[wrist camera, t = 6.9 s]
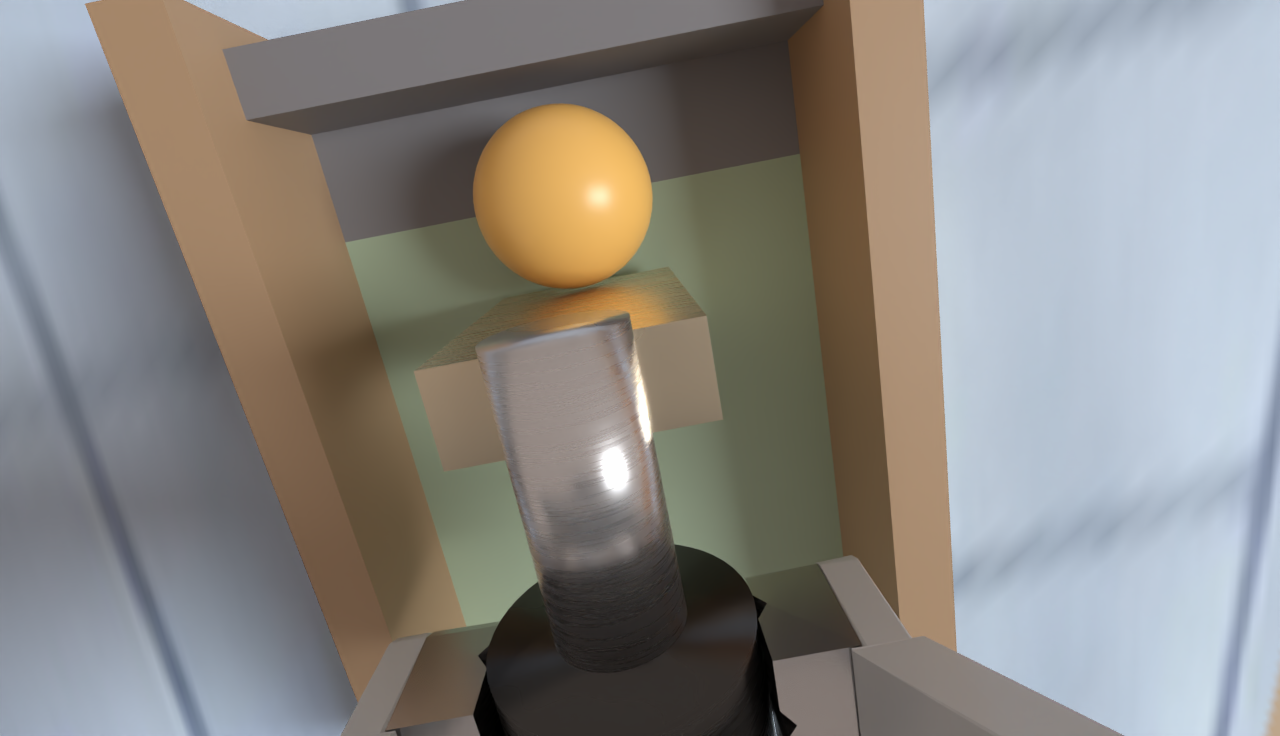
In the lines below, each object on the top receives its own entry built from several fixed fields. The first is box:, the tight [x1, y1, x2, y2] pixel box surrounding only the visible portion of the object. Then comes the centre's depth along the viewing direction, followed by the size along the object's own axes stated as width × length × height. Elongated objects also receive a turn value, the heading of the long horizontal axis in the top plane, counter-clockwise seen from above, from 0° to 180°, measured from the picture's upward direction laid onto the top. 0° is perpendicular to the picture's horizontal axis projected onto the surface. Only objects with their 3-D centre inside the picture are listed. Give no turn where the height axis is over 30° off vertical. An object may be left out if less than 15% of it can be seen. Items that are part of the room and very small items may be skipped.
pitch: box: [85, 0, 957, 702], centre depth 12 cm, size 16×11×4 cm
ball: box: [473, 103, 653, 289], centre depth 10 cm, size 3×3×3 cm
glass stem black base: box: [414, 267, 776, 736], centre depth 9 cm, size 6×3×7 cm, turn 10°
